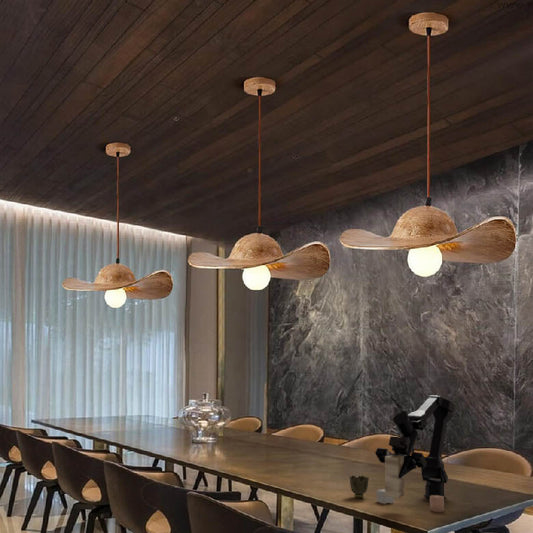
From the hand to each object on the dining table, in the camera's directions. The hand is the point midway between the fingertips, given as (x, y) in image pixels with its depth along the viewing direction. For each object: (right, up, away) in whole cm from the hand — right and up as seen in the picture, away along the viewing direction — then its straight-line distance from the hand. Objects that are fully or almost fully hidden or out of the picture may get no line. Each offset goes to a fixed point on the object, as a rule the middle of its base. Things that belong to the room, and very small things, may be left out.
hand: (392, 476), depth 257 cm
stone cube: (0, -14, +14) cm, 20 cm away
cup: (-9, -15, +22) cm, 28 cm away
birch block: (+1, -7, 0) cm, 7 cm away
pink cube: (+17, -13, +2) cm, 21 cm away
